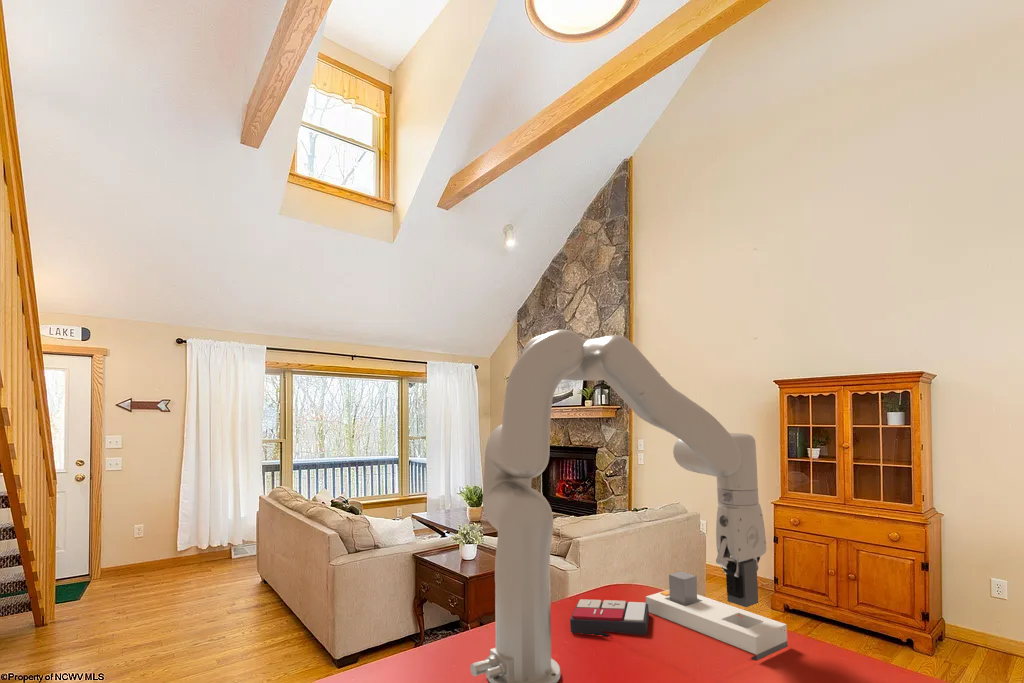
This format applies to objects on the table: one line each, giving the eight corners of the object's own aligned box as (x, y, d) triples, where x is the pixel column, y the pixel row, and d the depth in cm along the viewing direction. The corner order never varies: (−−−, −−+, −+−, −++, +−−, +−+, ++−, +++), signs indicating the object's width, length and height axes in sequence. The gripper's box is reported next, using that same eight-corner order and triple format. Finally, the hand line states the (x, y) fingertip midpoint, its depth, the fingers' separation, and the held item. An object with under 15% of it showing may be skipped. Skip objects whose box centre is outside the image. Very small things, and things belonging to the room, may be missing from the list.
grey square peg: (685, 619, 121) (684, 579, 122) (670, 613, 124) (668, 574, 125) (697, 615, 123) (696, 575, 124) (682, 609, 127) (681, 571, 127)
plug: (746, 607, 110) (744, 563, 111) (727, 601, 114) (725, 559, 114) (758, 602, 113) (756, 559, 113) (739, 596, 116) (737, 555, 117)
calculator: (577, 597, 128) (648, 599, 124) (579, 617, 128) (649, 620, 124) (569, 615, 118) (645, 618, 114) (570, 638, 117) (647, 642, 113)
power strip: (756, 660, 105) (755, 635, 105) (646, 615, 126) (645, 595, 126) (787, 646, 110) (786, 622, 111) (676, 605, 132) (676, 585, 132)
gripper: (728, 505, 107) (733, 609, 105) (779, 494, 116) (784, 589, 115) (694, 499, 113) (698, 597, 112) (745, 490, 123) (750, 580, 121)
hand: (742, 592), depth 113 cm, fingers closed on plug, 4 cm apart
